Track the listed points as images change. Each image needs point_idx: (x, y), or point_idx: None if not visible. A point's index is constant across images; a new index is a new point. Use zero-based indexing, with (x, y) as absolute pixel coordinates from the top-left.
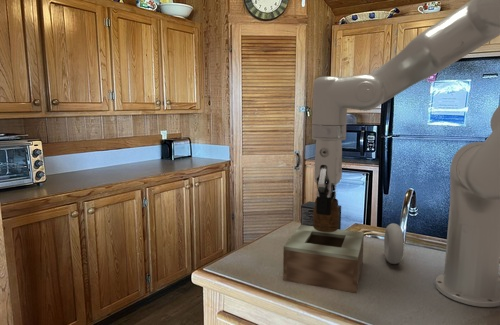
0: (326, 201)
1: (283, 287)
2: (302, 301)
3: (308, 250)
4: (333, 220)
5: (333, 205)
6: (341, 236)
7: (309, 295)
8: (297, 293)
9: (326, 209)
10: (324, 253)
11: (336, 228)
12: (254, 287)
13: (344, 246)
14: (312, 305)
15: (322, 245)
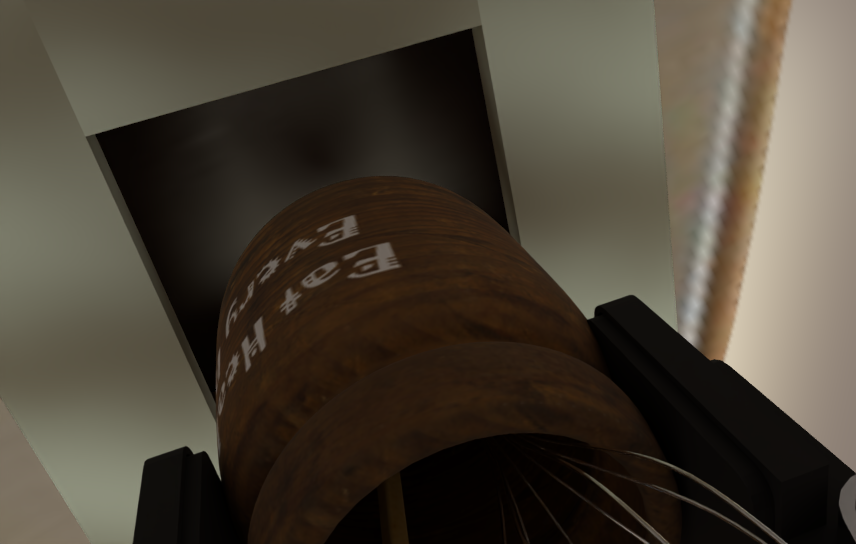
0: (838, 459)
1: None
2: (733, 82)
3: (667, 240)
4: (508, 238)
5: (583, 370)
6: (111, 178)
7: (660, 82)
8: (668, 149)
9: (731, 369)
10: (656, 107)
11: (407, 179)
12: (701, 349)
13: (434, 7)
14: (751, 14)
15: (525, 199)
